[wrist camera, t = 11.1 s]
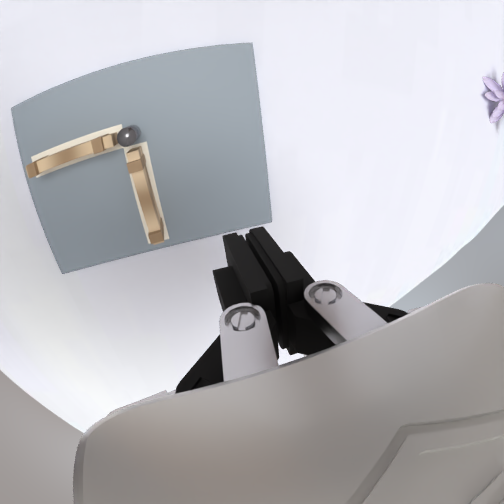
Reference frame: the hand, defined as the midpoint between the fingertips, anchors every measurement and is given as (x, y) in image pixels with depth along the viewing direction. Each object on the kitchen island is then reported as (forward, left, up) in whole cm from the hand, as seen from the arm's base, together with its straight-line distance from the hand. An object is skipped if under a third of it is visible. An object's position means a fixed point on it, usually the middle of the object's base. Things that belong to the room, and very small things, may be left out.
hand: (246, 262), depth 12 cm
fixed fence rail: (-13, +5, -21) cm, 25 cm away
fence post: (-6, +5, -22) cm, 23 cm away
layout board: (-6, +2, -22) cm, 23 cm away
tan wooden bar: (-6, -2, -21) cm, 22 cm away
